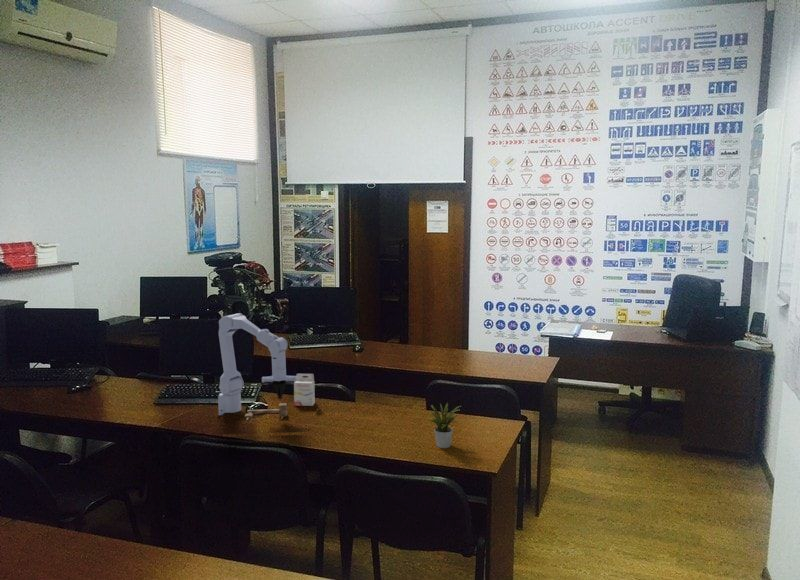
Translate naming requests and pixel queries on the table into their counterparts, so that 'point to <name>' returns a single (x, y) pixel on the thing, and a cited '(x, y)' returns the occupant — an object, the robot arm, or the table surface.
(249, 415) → the beam and fixed leg
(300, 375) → the ink cartridge box
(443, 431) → the house plant
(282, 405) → the sliding leg
